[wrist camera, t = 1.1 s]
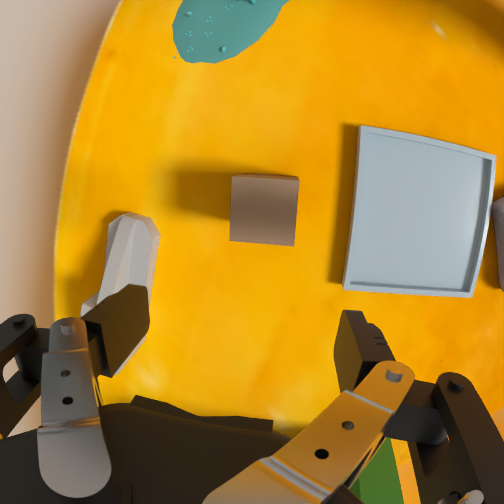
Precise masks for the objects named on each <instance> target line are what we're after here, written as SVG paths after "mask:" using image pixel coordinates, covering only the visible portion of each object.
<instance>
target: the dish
mask: <svg viewBox="0 0 504 504" xmlns="http://www.w3.org/2000/svg"><path fill="white" fill-rule="evenodd" d="M495 168H496V156H495V155H491V154H488V153H485V152H482V151H478V150H475V149H471V148H468V147H464V146H461V145H457V144H453V143H449V142H445V141H441V140H437V139H432V138H428V137H423V136H419V135H414V134H409V133H404V132H399V131H393V130H388V129H382V128H376V127H369V126H363V125H361V126H359V127H358V138H357V154H356V168H355V181H354V192H353V202H352V211H351V220H350V229H349V237H348V244H347V252H346V259H345V266H344V272H343V279H342V287H343V290H354V291H368V292H382V293H397V294H413V295H430V296H449V297H471V298H472V295H473V292H474V288H475V285H476V281H477V277H478V273H479V269H480V265H481V261H482V257H483V252H484V247H485V242H486V237H487V232H488V226H489V220H490V213H491V206H492V199H493V190H494V180H495Z"/></svg>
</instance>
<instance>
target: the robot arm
mask: <svg viewBox="0 0 504 504" xmlns="http://www.w3.org/2000/svg"><path fill="white" fill-rule="evenodd" d="M149 324H150V317H149V303H148V290H147V288H146V286H141V285H135V284H127V285H126V286H125V287H124V288H123V289H121V290H120V291H119V292H118V293H115V294H112V295H110V296H107V297H106V298H105V299H103V300H102V301H101V302H100V303H98V304H97V305H96V306H95V307H93V308H92V309H91V310H90V311H88V312H87V313H86V314H85V315H83V316H82V317H81V318H80V319H79V318H75V317H68V318H63V319H59V320H57V321H56V322H54V323H53V324H52V325H51V327H50V329H47V328H37V326H36V322H35V318H34V317H33V316H32V315H29V314H18V315H14V316H12V317H10V318H8V319H7V320H6V321H4V322H3V323H2V324H0V504H365V503H364V502H362V501H361V500H360V499H359V498H358V497H357V496H356V495H355V494H354V493H353V492H351V491H350V490H349V489H350V488H351V487H352V485H353V484H354V483H355V481H356V480H357V478H358V477H359V476H360V474H361V473H362V471H363V470H364V469H365V467H366V466H367V465H368V463H369V462H370V461H371V459H372V458H373V456H374V455H375V453H376V452H377V451H378V449H379V448H380V446H381V445H382V443H383V442H384V440H385V439H386V437H388V438H393V439H398V440H403V441H407V443H408V447H409V451H410V455H411V459H412V463H413V468H414V472H415V477H416V481H417V486H418V491H419V496H420V502H421V504H504V441H503V439H502V437H501V435H500V433H499V431H498V429H497V427H496V425H495V424H494V422H493V420H492V418H491V416H490V414H489V412H488V411H487V409H486V407H485V405H484V403H483V402H482V400H481V398H480V396H479V395H478V393H477V391H476V390H475V388H474V386H473V385H472V383H471V382H470V381H469V380H468V379H467V378H466V377H464V376H463V375H460V374H458V373H453V372H446V373H443V374H441V375H440V376H439V377H438V379H437V381H436V384H434V383H428V382H423V381H418V380H415V375H414V372H413V371H412V370H411V369H410V368H409V367H408V366H406V365H405V364H403V363H400V362H397V361H396V360H395V358H394V356H393V354H392V352H391V350H390V348H389V346H388V345H387V341H386V339H384V338H385V337H384V335H383V333H382V332H381V330H380V329H379V328H378V327H376V326H375V325H374V324H371V323H367V321H366V319H365V317H364V315H363V312H362V311H355V310H343V311H342V314H341V318H340V323H339V327H338V332H337V336H336V340H335V345H334V362H335V367H336V372H337V377H338V382H339V387H340V393H341V394H340V395H339V396H338V397H337V398H336V399H335V400H334V401H333V402H332V403H331V404H330V405H329V406H328V407H327V408H326V409H325V410H324V411H323V412H322V413H321V414H319V415H318V416H317V417H316V418H315V419H314V420H313V421H312V422H311V423H310V424H309V425H308V426H306V427H305V428H304V429H303V430H302V431H301V432H300V433H299V434H297V435H296V436H295V437H294V438H291V437H289V436H287V435H285V434H282V433H280V432H277V431H274V430H272V428H273V420H267V419H258V418H249V417H242V416H211V417H203V416H197V415H194V414H191V413H189V412H187V411H184V410H182V409H180V408H177V407H175V406H173V405H171V404H168V403H166V402H161V401H157V400H153V399H149V398H145V397H142V396H138V395H135V397H134V398H133V400H132V402H131V403H116V404H109V405H104V404H103V400H102V395H101V391H100V386H99V382H98V378H97V377H98V376H99V375H103V376H107V377H110V378H112V377H113V375H114V374H115V373H116V372H117V370H118V369H119V368H120V366H121V365H122V364H123V363H124V361H125V360H126V359H127V357H128V356H129V355H130V354H131V352H132V351H133V350H134V349H135V347H136V346H137V345H138V344H139V342H140V341H141V340H142V338H143V337H144V336H145V335H146V333H147V332H148V329H149ZM13 357H14V358H15V360H16V363H17V366H18V368H19V370H18V371H17V372H16V373H15V374H14V375H13V376H12V377H11V378H10V379H9V380H8V381H7V382H6V383H5V381H4V378H3V368H4V366H5V365H6V364H7V363H8V362H9V361H10V360H11V359H12V358H13ZM40 395H41V426H39V427H38V428H37V429H34V430H31V431H27V432H24V433H21V434H18V435H14V436H11V437H7V436H8V435H9V434H10V432H11V431H12V430H13V429H14V427H15V426H16V425H17V424H18V422H19V421H20V420H21V419H22V417H23V416H24V415H25V413H26V412H27V411H28V410H29V409H30V407H31V406H32V405H33V404H34V403H35V401H36V400H37V399H38V398H39V397H40ZM447 435H448V437H449V440H448V438H447ZM449 442H450V443H449Z"/></svg>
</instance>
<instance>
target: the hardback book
mask: <svg viewBox="0 0 504 504" xmlns="http://www.w3.org/2000/svg"><path fill="white" fill-rule="evenodd" d="M349 490H350V491H351V492H353V493H354V494H355V495H356V496H357V497H358V498H359V499H360V500H361V501H362V502H364V503H365V504H404V501H403V496H402V490H401V485H400V480H399V476H398V471H397V466H396V461H395V457H394V453H393V448H392V444H391V440H390V438H388V437H386V439H385V440H384V442H383V443H382V445H381V446H380V448H379V449H378V451H377V452H376V453H375V455H374V456H373V458H372V459H371V461H370V462H369V463H368V465H367V466H366V467H365V469H364V470H363V471H362V473H361V474H360V476H359V477H358V478H357V480H356V481H355V483H354V484H353V485H352V487H351V488H350V489H349Z"/></svg>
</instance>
